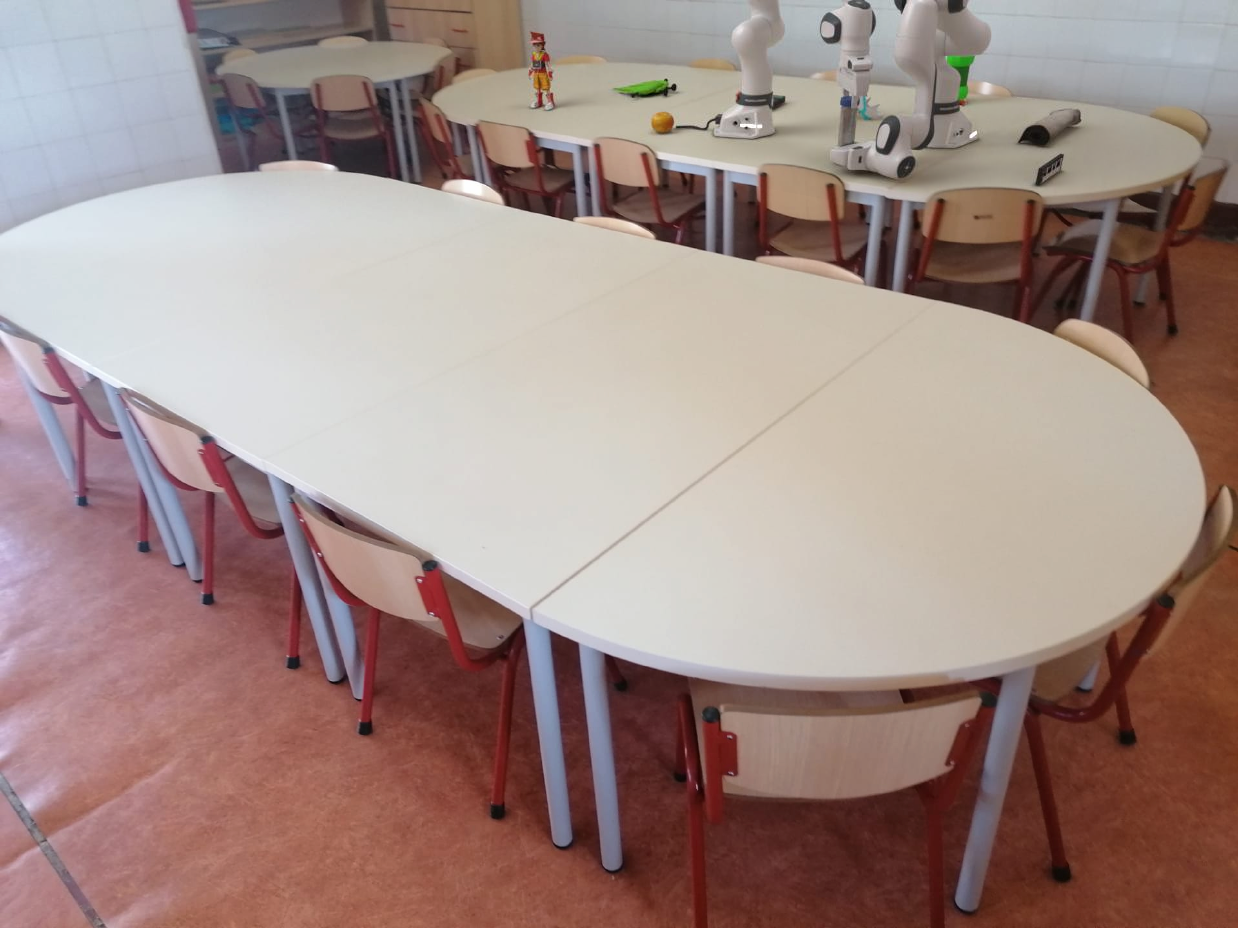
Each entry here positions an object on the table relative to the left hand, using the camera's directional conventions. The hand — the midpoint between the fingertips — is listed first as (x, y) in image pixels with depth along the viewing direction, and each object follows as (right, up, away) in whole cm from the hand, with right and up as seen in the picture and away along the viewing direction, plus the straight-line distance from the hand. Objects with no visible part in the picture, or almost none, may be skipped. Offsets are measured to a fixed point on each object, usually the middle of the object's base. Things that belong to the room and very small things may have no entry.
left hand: (849, 105), depth 287 cm
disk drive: (-14, +31, +78) cm, 85 cm away
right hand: (0, -10, +8) cm, 13 cm away
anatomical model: (+21, +19, +58) cm, 64 cm away
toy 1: (-107, +37, +96) cm, 148 cm away
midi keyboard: (+58, -27, -12) cm, 65 cm away
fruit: (-57, +12, +54) cm, 80 cm away
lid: (0, +2, -1) cm, 2 cm away
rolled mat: (+76, -1, +24) cm, 79 cm away
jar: (+1, -15, +10) cm, 18 cm away
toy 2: (-64, +50, +110) cm, 137 cm away
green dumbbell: (+59, +28, +68) cm, 94 cm away
